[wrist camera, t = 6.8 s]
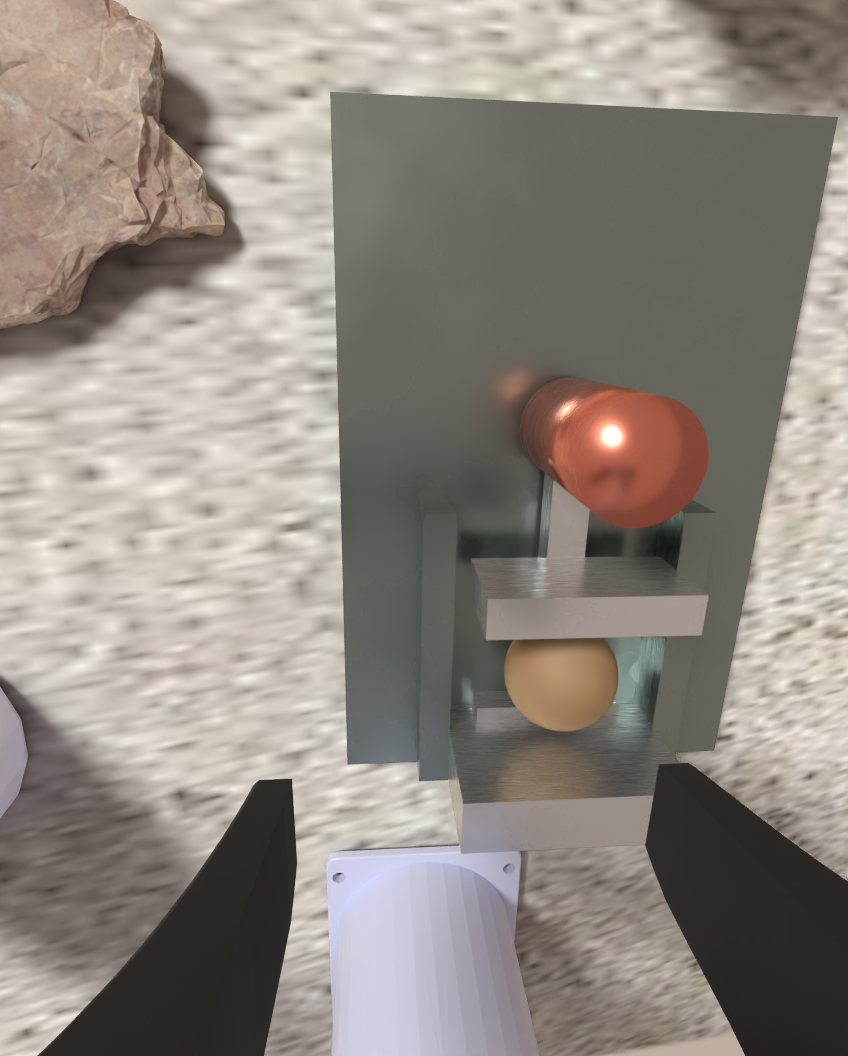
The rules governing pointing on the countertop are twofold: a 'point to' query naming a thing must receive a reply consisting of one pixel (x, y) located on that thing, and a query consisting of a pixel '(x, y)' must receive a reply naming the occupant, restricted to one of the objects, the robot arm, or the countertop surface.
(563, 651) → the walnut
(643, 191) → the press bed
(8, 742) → the soap bottle
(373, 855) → the robot arm
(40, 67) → the stone
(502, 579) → the ram
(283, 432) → the countertop surface
